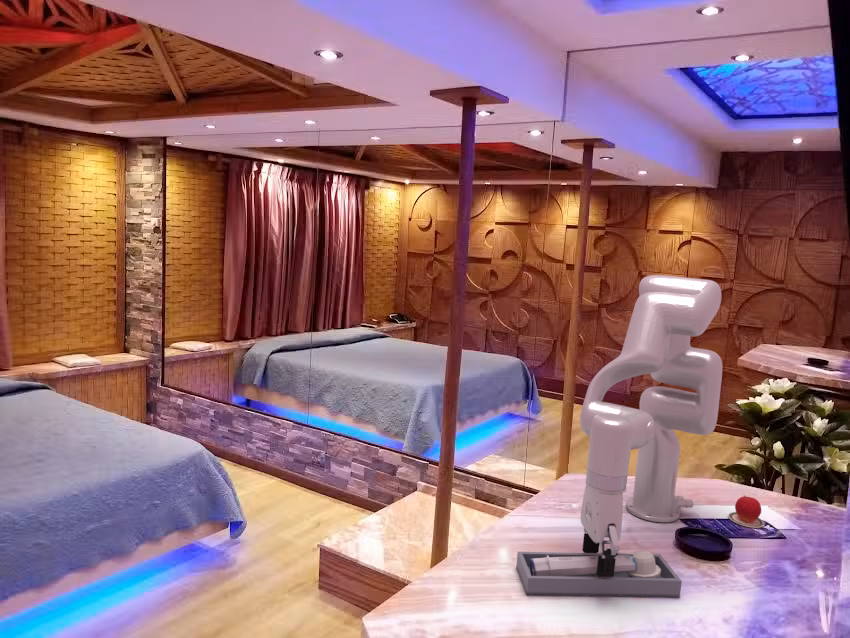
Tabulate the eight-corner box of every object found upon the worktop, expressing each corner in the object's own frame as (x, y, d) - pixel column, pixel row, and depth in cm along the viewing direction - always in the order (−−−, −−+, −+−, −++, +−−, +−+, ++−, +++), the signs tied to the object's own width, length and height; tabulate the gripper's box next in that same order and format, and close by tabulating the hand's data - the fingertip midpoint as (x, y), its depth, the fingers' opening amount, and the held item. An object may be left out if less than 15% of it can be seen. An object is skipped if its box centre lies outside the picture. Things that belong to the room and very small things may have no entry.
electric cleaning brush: (528, 552, 126) (653, 541, 126) (530, 583, 127) (654, 573, 127) (533, 566, 121) (664, 555, 121) (534, 598, 122) (665, 587, 122)
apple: (720, 517, 158) (724, 492, 157) (742, 512, 162) (745, 487, 161) (749, 531, 151) (753, 505, 150) (771, 526, 155) (775, 500, 154)
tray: (658, 570, 131) (660, 554, 131) (679, 597, 122) (681, 580, 121) (516, 567, 129) (517, 551, 129) (526, 595, 120) (528, 578, 119)
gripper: (573, 461, 130) (566, 541, 133) (602, 498, 113) (592, 589, 116) (609, 462, 131) (601, 542, 134) (643, 499, 114) (633, 589, 117)
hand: (597, 563), depth 125 cm, fingers open, 8 cm apart
